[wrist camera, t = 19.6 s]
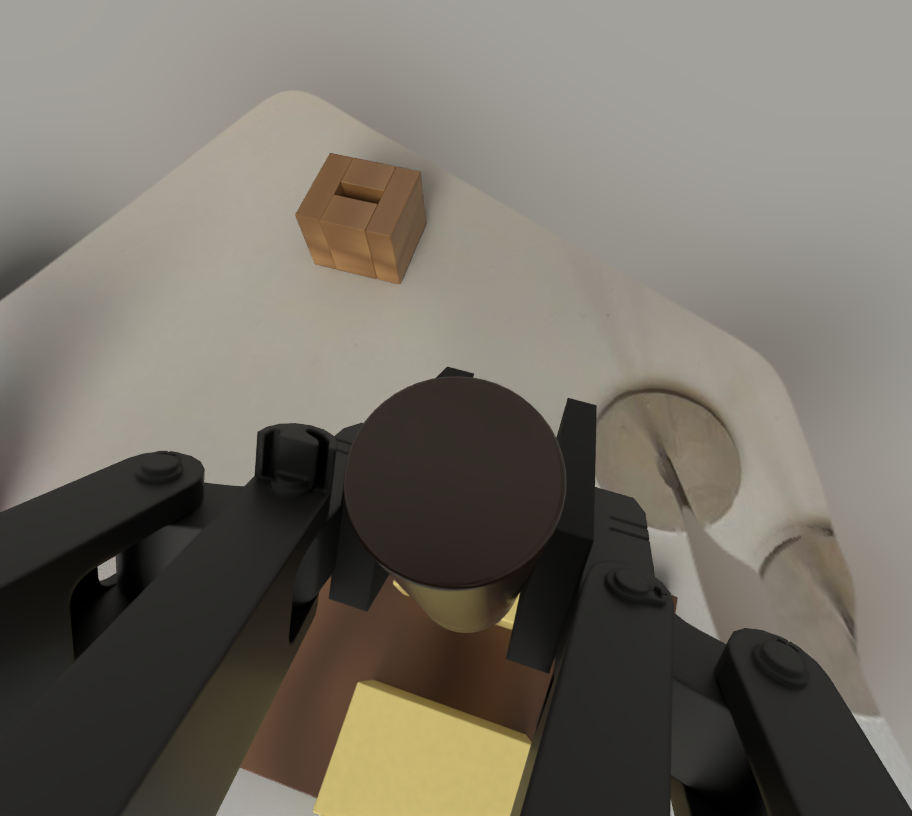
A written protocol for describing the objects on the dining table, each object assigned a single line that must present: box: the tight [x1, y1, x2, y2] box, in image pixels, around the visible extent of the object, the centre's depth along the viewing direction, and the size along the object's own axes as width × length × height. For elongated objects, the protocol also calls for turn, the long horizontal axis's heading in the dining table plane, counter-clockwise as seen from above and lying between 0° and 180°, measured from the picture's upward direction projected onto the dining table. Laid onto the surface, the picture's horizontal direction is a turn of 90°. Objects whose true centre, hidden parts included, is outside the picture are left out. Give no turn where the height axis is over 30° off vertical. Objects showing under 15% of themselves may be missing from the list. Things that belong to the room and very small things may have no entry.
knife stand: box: [295, 153, 426, 284], centre depth 40 cm, size 7×6×5 cm
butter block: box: [313, 680, 532, 816], centre depth 25 cm, size 8×5×4 cm, turn 73°
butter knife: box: [343, 376, 566, 633], centre depth 14 cm, size 3×3×16 cm
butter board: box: [240, 575, 677, 798], centre depth 29 cm, size 20×14×2 cm
